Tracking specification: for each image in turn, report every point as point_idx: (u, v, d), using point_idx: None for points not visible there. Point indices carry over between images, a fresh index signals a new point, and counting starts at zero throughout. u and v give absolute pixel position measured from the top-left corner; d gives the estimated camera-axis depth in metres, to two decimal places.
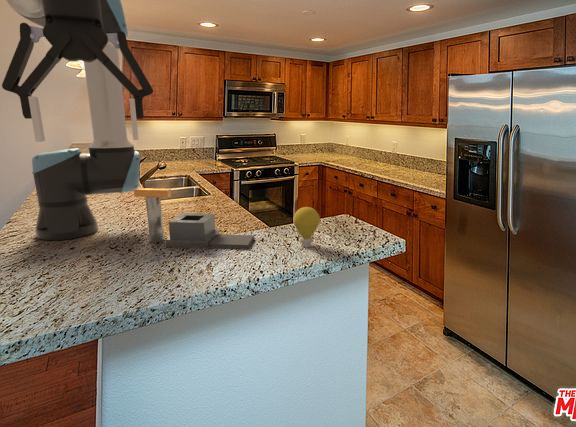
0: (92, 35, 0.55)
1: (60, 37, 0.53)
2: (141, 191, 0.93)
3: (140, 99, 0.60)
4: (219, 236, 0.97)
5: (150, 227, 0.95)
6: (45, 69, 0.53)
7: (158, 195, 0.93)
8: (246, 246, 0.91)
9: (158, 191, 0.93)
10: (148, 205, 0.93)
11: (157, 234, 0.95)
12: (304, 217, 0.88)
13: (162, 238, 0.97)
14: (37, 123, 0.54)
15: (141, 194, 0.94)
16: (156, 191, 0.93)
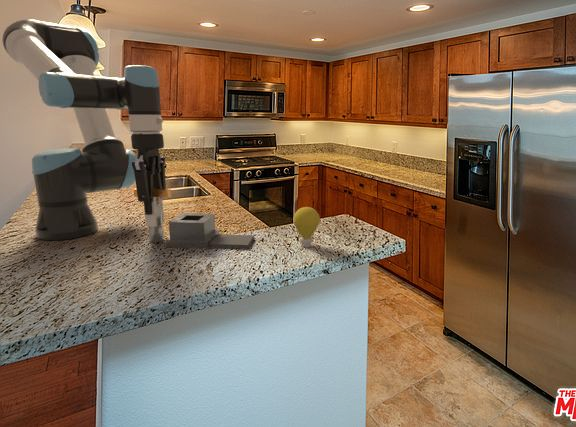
0: (157, 153, 0.94)
1: (153, 161, 0.90)
2: None
3: (161, 197, 0.98)
4: (219, 236, 0.97)
5: (150, 227, 0.95)
6: (152, 181, 0.92)
7: (158, 195, 0.93)
8: (246, 246, 0.91)
9: (158, 191, 0.93)
10: None
11: (157, 234, 0.95)
12: (304, 217, 0.88)
13: (162, 238, 0.97)
14: None
15: None
16: (156, 191, 0.93)
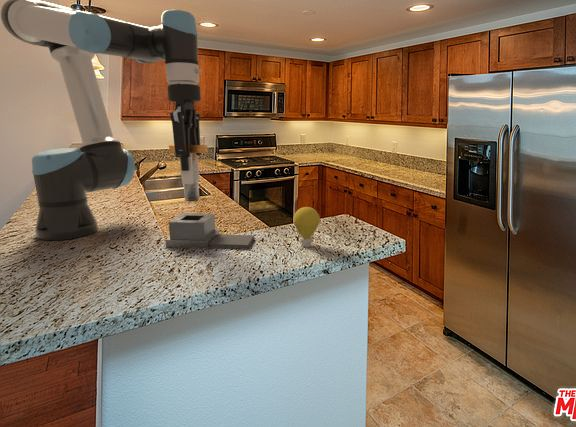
0: (193, 108, 0.90)
1: (191, 114, 0.86)
2: None
3: (196, 155, 0.94)
4: (219, 236, 0.97)
5: (186, 185, 0.91)
6: (189, 136, 0.88)
7: (195, 151, 0.89)
8: (246, 246, 0.91)
9: (195, 146, 0.89)
10: None
11: (193, 193, 0.91)
12: (304, 217, 0.88)
13: (198, 197, 0.93)
14: (192, 172, 0.90)
15: None
16: (193, 146, 0.89)
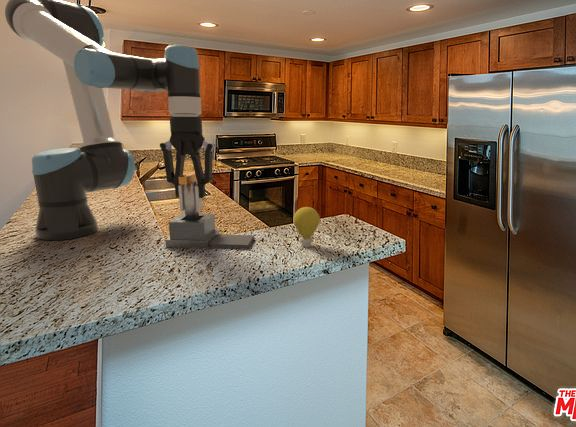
0: None
1: None
2: (189, 177, 0.90)
3: None
4: (219, 236, 0.97)
5: (197, 212, 0.94)
6: None
7: None
8: (246, 246, 0.91)
9: None
10: None
11: None
12: (304, 217, 0.88)
13: None
14: None
15: (189, 180, 0.90)
16: None
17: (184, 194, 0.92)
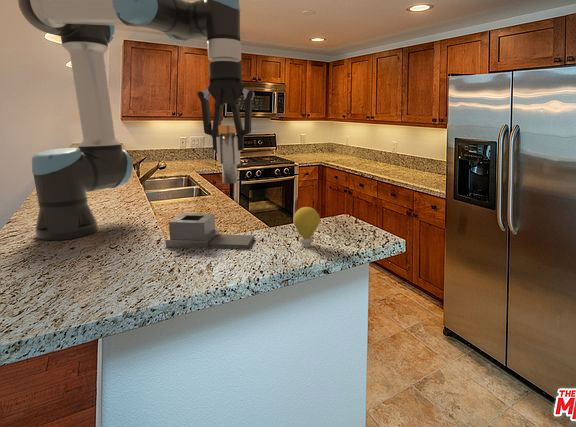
0: None
1: None
2: (229, 127, 0.85)
3: None
4: (219, 236, 0.97)
5: (235, 166, 0.90)
6: None
7: (233, 131, 0.90)
8: (246, 246, 0.91)
9: (233, 126, 0.90)
10: None
11: None
12: (304, 217, 0.88)
13: None
14: None
15: (229, 130, 0.85)
16: (233, 126, 0.89)
17: (222, 146, 0.88)
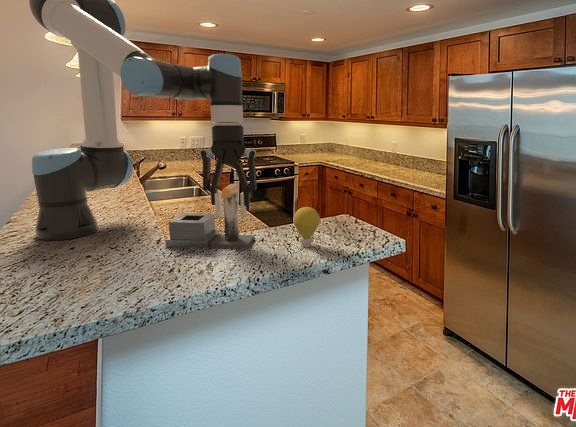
0: None
1: None
2: (231, 190, 0.89)
3: None
4: (219, 236, 0.97)
5: (237, 225, 0.93)
6: None
7: (236, 190, 0.94)
8: (246, 246, 0.91)
9: (236, 186, 0.93)
10: (236, 202, 0.92)
11: None
12: (304, 217, 0.88)
13: None
14: None
15: (231, 193, 0.89)
16: (235, 187, 0.93)
17: (225, 207, 0.91)
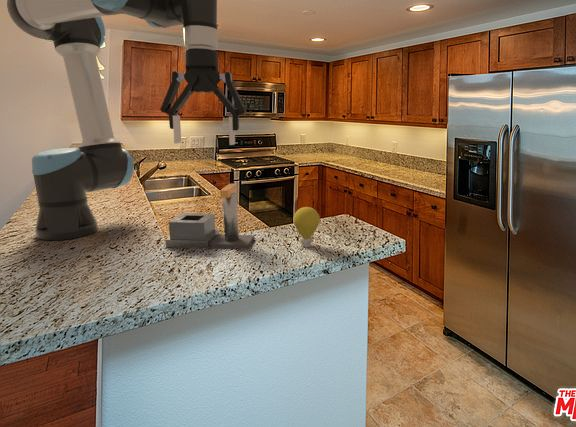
0: None
1: None
2: (230, 190, 0.89)
3: None
4: (219, 236, 0.97)
5: (237, 225, 0.93)
6: None
7: (235, 190, 0.94)
8: (246, 246, 0.91)
9: (234, 186, 0.93)
10: (235, 202, 0.92)
11: None
12: (304, 217, 0.88)
13: None
14: None
15: (230, 193, 0.89)
16: (234, 187, 0.93)
17: (224, 207, 0.91)
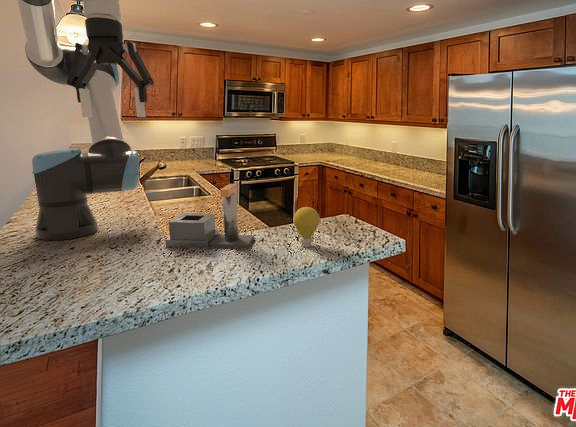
0: None
1: None
2: (230, 189, 0.89)
3: None
4: (219, 236, 0.97)
5: (237, 224, 0.93)
6: None
7: (234, 190, 0.94)
8: (246, 246, 0.91)
9: (234, 186, 0.94)
10: (235, 202, 0.92)
11: None
12: (304, 217, 0.88)
13: None
14: None
15: (230, 193, 0.89)
16: (234, 186, 0.93)
17: (224, 206, 0.91)
